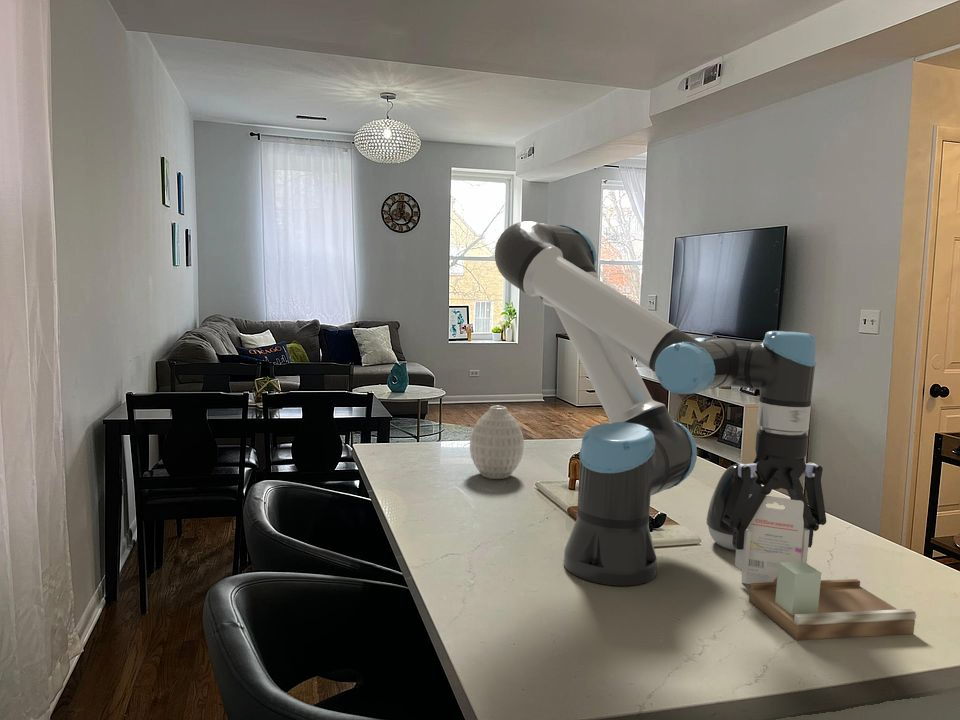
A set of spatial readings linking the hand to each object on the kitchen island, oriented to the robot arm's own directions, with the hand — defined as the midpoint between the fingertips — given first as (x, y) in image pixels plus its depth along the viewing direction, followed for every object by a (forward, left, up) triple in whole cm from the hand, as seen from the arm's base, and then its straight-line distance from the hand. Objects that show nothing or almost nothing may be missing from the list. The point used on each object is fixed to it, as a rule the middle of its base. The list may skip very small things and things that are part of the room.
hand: (770, 567), depth 117 cm
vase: (-32, +64, -3) cm, 72 cm away
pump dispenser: (+3, +16, -3) cm, 17 cm away
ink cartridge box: (0, 0, -3) cm, 3 cm away
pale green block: (-4, -13, -1) cm, 14 cm away
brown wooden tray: (+2, -12, -3) cm, 12 cm away
